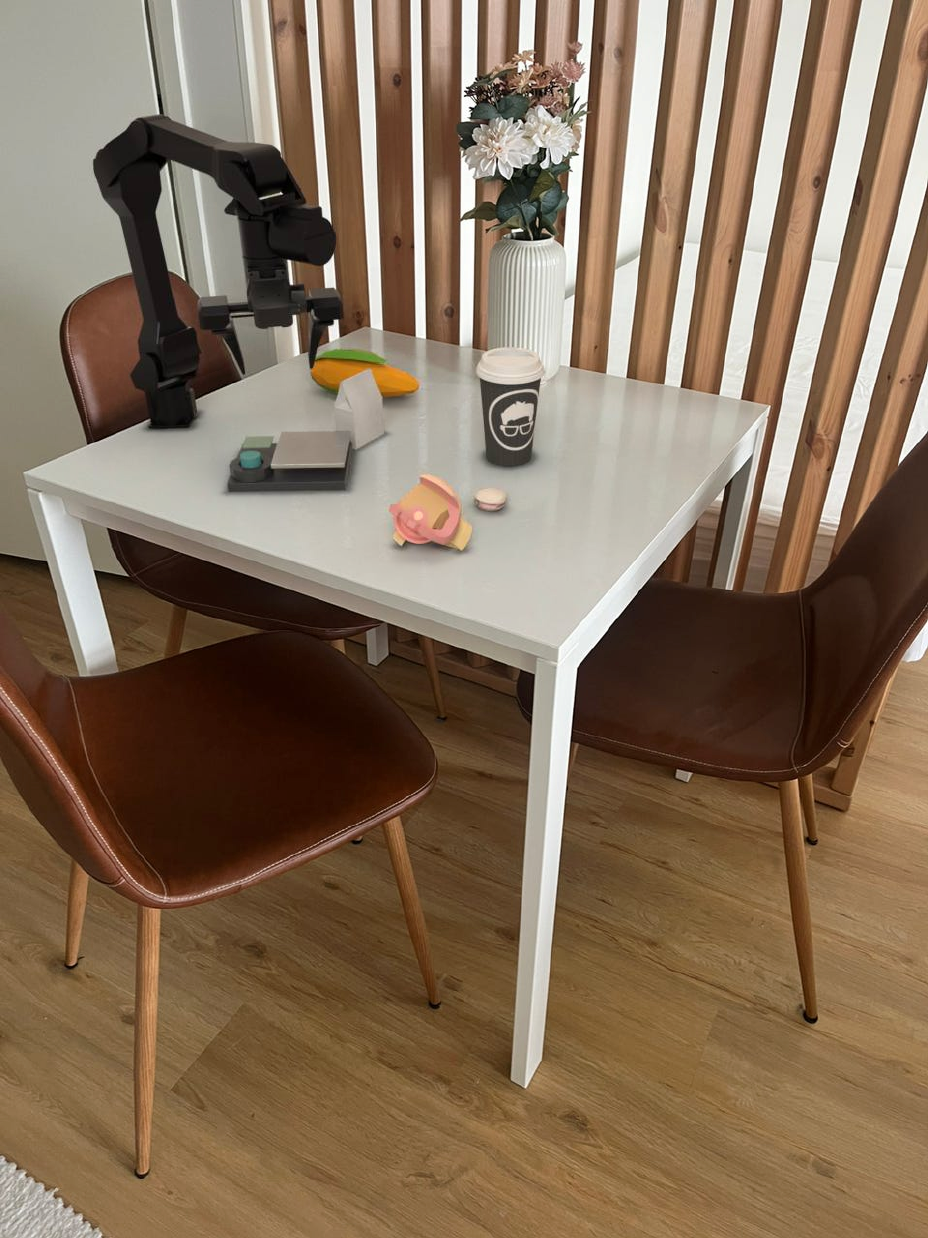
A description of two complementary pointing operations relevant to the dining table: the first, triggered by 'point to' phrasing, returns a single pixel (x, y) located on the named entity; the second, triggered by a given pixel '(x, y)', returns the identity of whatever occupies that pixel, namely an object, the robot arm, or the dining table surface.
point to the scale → (285, 475)
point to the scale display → (258, 442)
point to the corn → (350, 363)
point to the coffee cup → (509, 403)
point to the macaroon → (490, 498)
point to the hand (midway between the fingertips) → (277, 370)
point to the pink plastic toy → (430, 515)
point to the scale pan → (311, 449)
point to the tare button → (250, 459)
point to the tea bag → (359, 409)
